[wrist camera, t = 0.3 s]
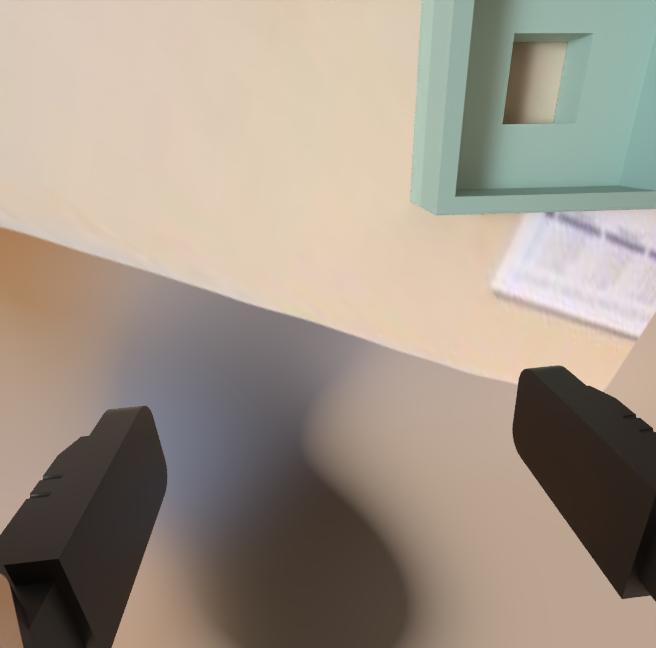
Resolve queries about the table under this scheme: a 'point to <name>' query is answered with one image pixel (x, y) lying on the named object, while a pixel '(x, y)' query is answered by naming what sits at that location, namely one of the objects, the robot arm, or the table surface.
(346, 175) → the table surface
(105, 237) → the table surface
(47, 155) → the table surface
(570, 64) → the bore box
